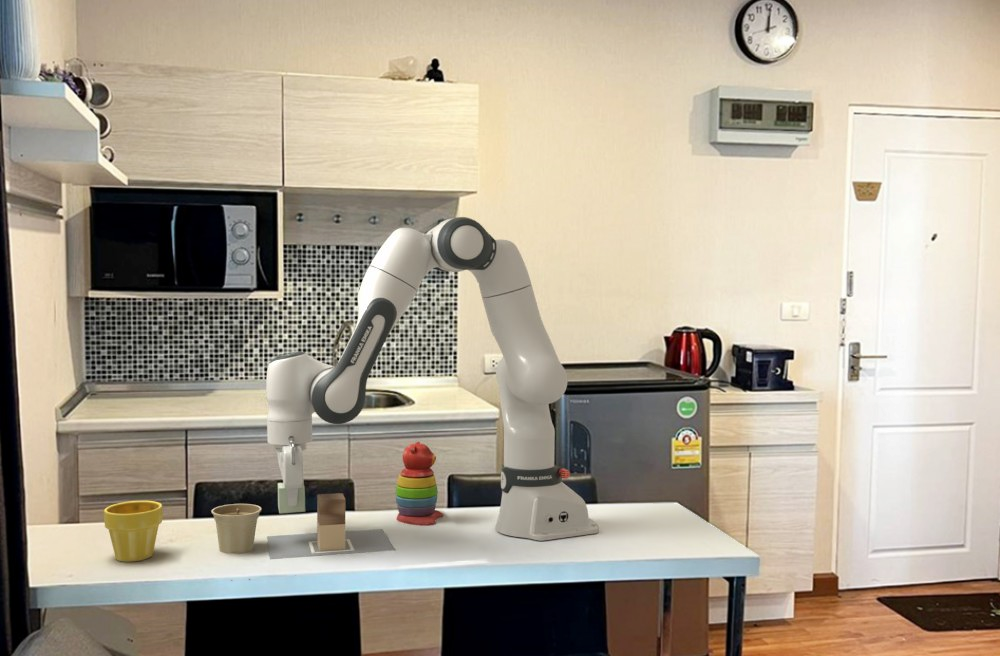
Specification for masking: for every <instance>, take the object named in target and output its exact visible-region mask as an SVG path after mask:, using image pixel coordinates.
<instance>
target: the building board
mask: <svg viewBox="0 0 1000 656" xmlns="http://www.w3.org/2000/svg"><path fill="white" fill-rule="evenodd" d="M316 520H317V519H316ZM316 523H317V524H316V529H317V530H316V532H312V533H311V532H310V533H299V534H297V533H296V534H283V535H282V534H280V535H268V536H266V539H267V546H268V554H269V555H268V556H269V560H279V559H293V558H307V557H320V556H334V555H347V554H361V553H363V554H364V553H376V552H389V551H390V552H391V551H396V548H395V546H394V545H393V543H392V542H391V540H390V538H389V537H388V535H387V533H386V532H385V530H384V528H374V529H373V528H372V529H358V530H357V529H356V530H346V523H345V524H337V525H322V526H320V525H319V523H318V520H317V521H316Z"/></svg>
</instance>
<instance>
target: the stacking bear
mask: <svg viewBox="0 0 1000 656" xmlns="http://www.w3.org/2000/svg"><path fill="white" fill-rule="evenodd" d="M436 457H437V456H436V455H435V453H433V452H432V450H431V449H430V448H429V446H428V445H426V444H424V443H421V442H420V441H416V442H415V443H412V444H411V443H410V444H409V445H407V446H406V447H405V448H404V450H403V451H402V462H403V466H404V468H403V469H402V470H401V471H400V474H399V475H398V478H397V483H396V484H397V485H396V487H395V501H396V504H397V505H396V506H397V510H398V514H397V516H396V521H397V522H399V523H403V524H406V525H412V526H422V527H426V526H427V527H428V526H429V527H430V526H434V525H435V524H437V522H436V520H438V519H442V518H443V517H444V513H443V512H442V511H440V510H436V506H437V500H438V485H437V481H436V476H435V473H434V471H433V469H431V468H432V467H433V466H434V465H435V462H436V459H437V458H436Z"/></svg>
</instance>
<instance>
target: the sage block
mask: <svg viewBox="0 0 1000 656" xmlns="http://www.w3.org/2000/svg"><path fill="white" fill-rule="evenodd" d="M277 507H278V513H279V515H280V514H290V513H302V512H303V513H305V512H306V491H305V484H304V482H303V487H302V488H298V495H297V505H296V506H289V505H288V494H287V489H286V488H285V487H284V483H283V482H278V483H277Z"/></svg>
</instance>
